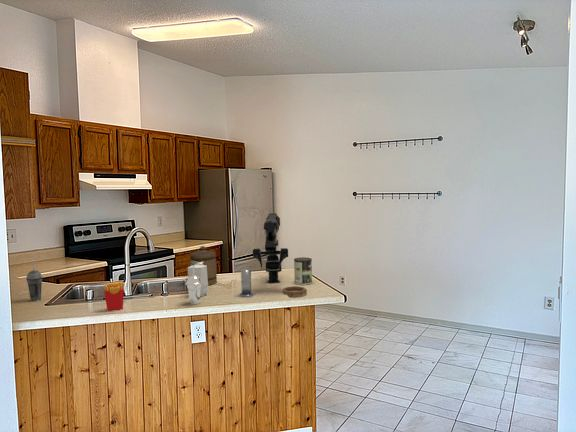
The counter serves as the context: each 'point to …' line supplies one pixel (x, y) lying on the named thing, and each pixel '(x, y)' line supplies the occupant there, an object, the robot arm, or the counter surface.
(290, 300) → the counter surface
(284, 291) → the brown shallow round dish
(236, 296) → the stand
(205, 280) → the skincare box
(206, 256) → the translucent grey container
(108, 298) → the french fries
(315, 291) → the counter surface
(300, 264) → the coffee can
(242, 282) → the sleeve
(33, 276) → the beverage cup
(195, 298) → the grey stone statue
